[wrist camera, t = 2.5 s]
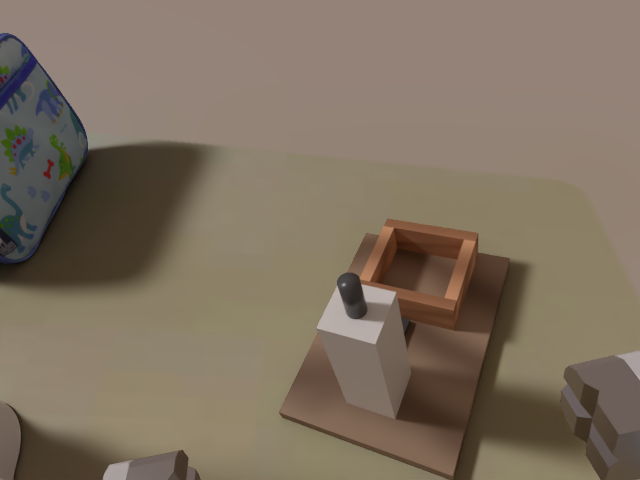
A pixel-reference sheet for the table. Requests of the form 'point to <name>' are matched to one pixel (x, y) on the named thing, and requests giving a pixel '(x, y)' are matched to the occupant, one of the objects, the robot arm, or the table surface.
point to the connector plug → (366, 345)
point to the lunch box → (32, 149)
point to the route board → (415, 346)
